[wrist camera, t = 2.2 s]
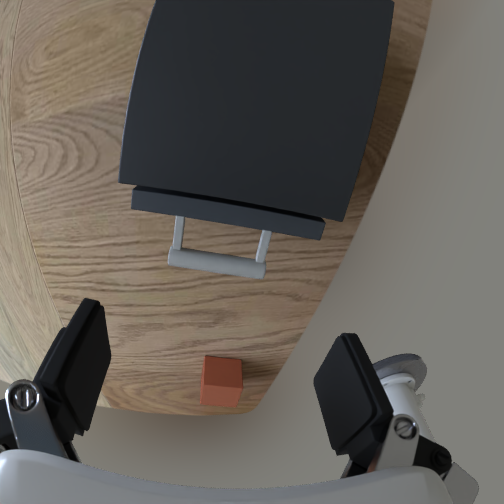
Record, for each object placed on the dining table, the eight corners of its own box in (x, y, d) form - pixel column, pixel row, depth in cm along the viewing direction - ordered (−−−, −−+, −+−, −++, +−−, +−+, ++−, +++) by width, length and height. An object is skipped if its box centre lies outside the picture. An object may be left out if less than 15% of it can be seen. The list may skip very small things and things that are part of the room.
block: (241, 359, 33) (243, 388, 29) (234, 380, 35) (236, 407, 31) (204, 355, 32) (203, 384, 28) (201, 376, 34) (200, 404, 30)
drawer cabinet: (302, 183, 24) (343, 222, 15) (158, 157, 22) (117, 183, 13) (338, 34, 18) (395, 1, 9) (195, 2, 15) (178, -53, 7)
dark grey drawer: (279, 252, 26) (297, 305, 19) (155, 233, 24) (129, 280, 17) (330, 55, 18) (374, 33, 11) (192, 25, 16) (176, -14, 9)
